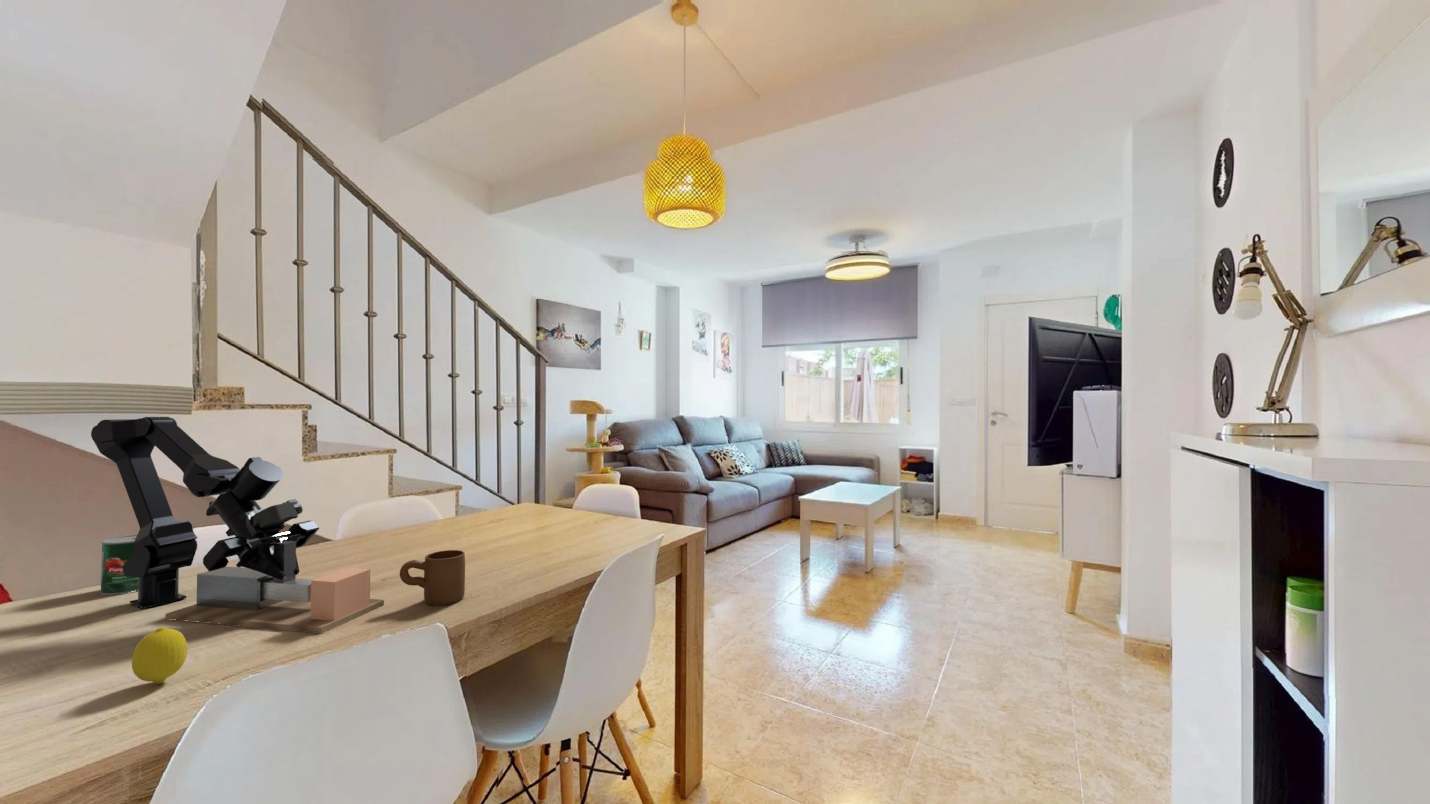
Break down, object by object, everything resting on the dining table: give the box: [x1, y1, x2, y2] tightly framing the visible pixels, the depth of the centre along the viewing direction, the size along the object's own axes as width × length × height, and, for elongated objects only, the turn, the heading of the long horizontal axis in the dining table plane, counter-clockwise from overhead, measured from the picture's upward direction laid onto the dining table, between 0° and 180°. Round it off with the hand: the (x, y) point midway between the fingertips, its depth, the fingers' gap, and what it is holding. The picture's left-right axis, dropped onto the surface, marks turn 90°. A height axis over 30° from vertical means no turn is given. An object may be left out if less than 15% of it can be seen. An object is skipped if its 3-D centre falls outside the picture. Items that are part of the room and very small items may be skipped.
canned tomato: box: [99, 534, 138, 596], centre depth 116 cm, size 8×8×11 cm
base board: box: [164, 598, 385, 634], centre depth 104 cm, size 34×14×1 cm, turn 80°
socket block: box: [311, 567, 371, 621], centre depth 101 cm, size 5×8×7 cm, turn 170°
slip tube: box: [260, 541, 314, 602], centre depth 104 cm, size 23×3×11 cm, turn 80°
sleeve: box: [195, 566, 282, 611], centre depth 105 cm, size 14×5×6 cm, turn 80°
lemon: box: [131, 626, 188, 685], centre depth 77 cm, size 6×6×8 cm
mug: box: [399, 549, 466, 606], centre depth 110 cm, size 12×8×9 cm, turn 128°
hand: (290, 576), depth 103 cm, fingers closed on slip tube, 2 cm apart
